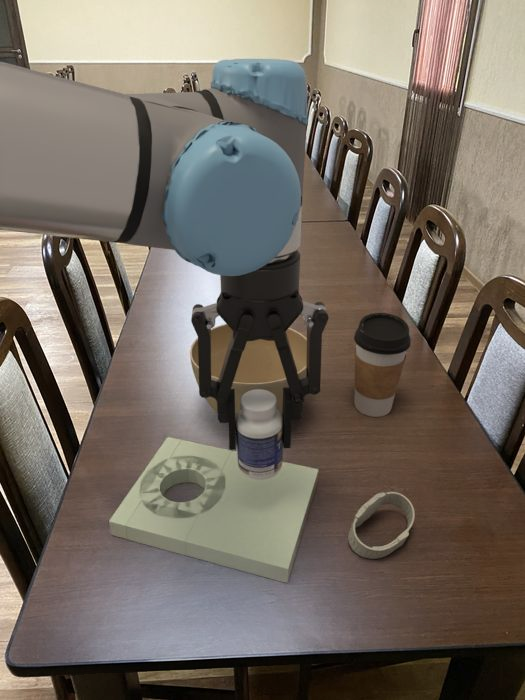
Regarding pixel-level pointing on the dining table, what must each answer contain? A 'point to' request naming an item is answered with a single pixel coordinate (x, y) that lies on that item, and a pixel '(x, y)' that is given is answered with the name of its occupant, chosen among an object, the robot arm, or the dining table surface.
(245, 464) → the pill bottle
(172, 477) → the pale green flat block
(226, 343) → the tan round bowl
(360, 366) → the coffee cup
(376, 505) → the wristwatch
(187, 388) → the dining table surface
